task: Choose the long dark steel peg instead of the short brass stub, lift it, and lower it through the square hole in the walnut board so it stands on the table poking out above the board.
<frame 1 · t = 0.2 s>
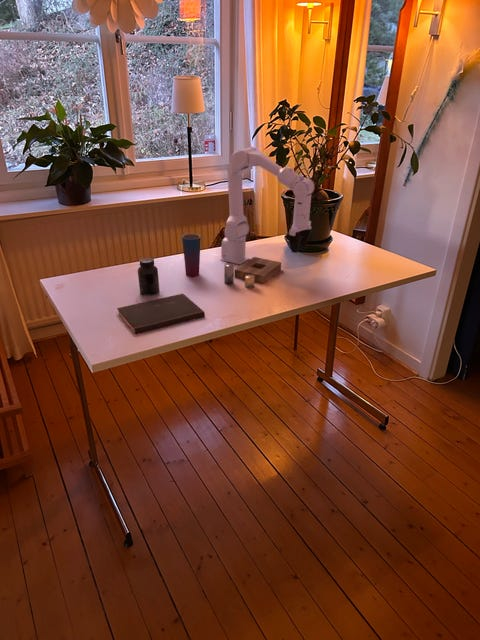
hand: (298, 249, 176), 10 cm above the table, tool pointing down, fingers open, 7 cm apart
cup: (192, 274, 179), on the table
walnut board: (258, 273, 181), on the table
short brass peg: (249, 286, 170), on the table
hardcover book: (161, 317, 149), on the table
supplement bottle: (149, 292, 164), on the table
long steel peg: (228, 283, 172), on the table
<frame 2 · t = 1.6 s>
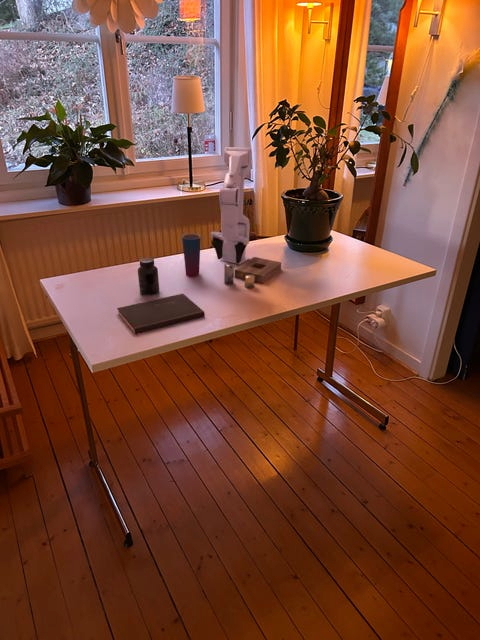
hand: (229, 260, 168), 9 cm above the table, tool pointing down, fingers open, 7 cm apart
nothing on the table moved.
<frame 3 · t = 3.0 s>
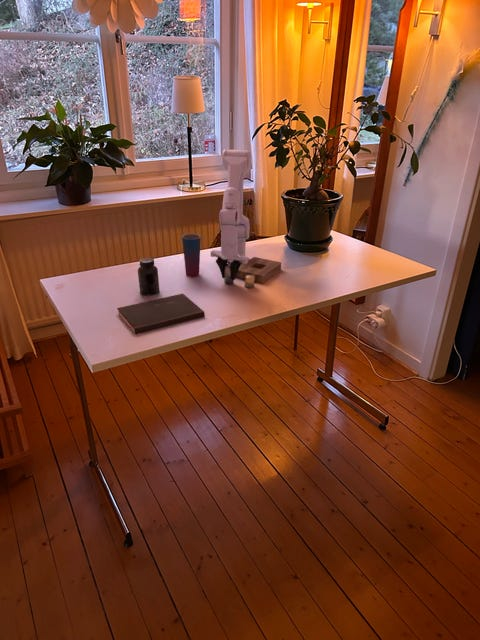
hand: (229, 278, 171), 2 cm above the table, tool pointing down, fingers closed on long steel peg, 3 cm apart
long steel peg: (228, 283, 172), on the table, touching gripper
everything else where it was.
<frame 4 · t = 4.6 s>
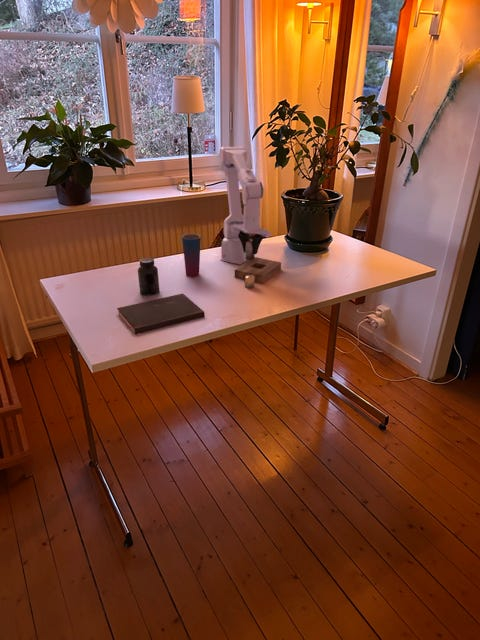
hand: (250, 252, 174), 9 cm above the table, tool pointing down, fingers closed on long steel peg, 3 cm apart
long steel peg: (249, 258, 175), point 7 cm above the table, touching gripper
everything else where it was.
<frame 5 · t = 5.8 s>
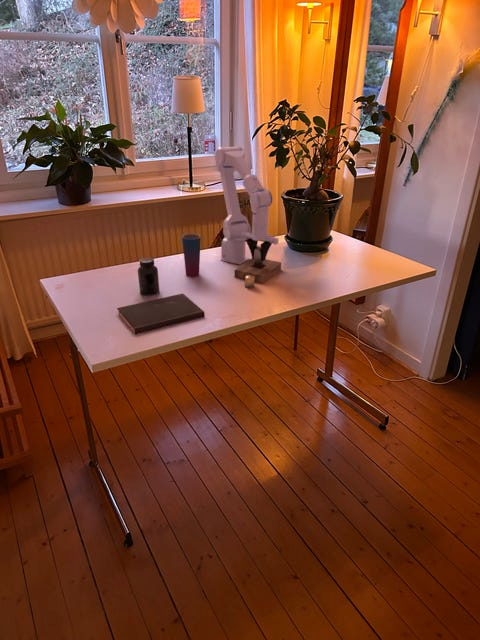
hand: (258, 259, 178), 6 cm above the table, tool pointing down, fingers closed on long steel peg, 3 cm apart
long steel peg: (258, 265, 179), point 3 cm above the table, touching gripper
everything else where it was.
when the fingers open (4 cm above the table, at t = 6.6 s): long steel peg drops 2 cm, resting in walnut board.
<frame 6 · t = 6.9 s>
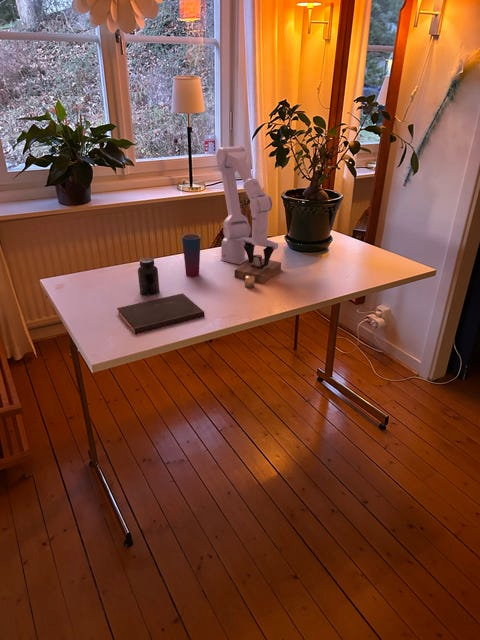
hand: (258, 263, 179), 4 cm above the table, tool pointing down, fingers open, 6 cm apart
long steel peg: (257, 273, 181), resting in walnut board
everything else where it was.
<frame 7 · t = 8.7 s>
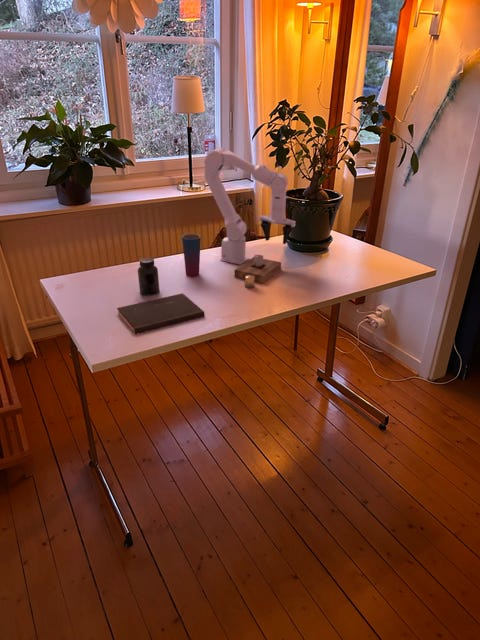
hand: (276, 241, 185), 9 cm above the table, tool pointing down, fingers open, 7 cm apart
nothing on the table moved.
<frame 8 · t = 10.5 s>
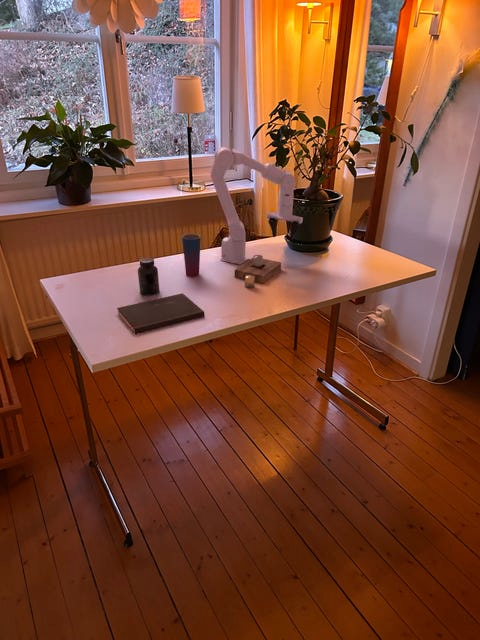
hand: (283, 238, 190), 9 cm above the table, tool pointing down, fingers open, 7 cm apart
nothing on the table moved.
at the end: long steel peg 0.4 cm off-centre on the walnut board, point 0.0 cm above the walnut board's base; long steel peg tilted 1°; short brass peg moved 0.1 cm from its start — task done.
